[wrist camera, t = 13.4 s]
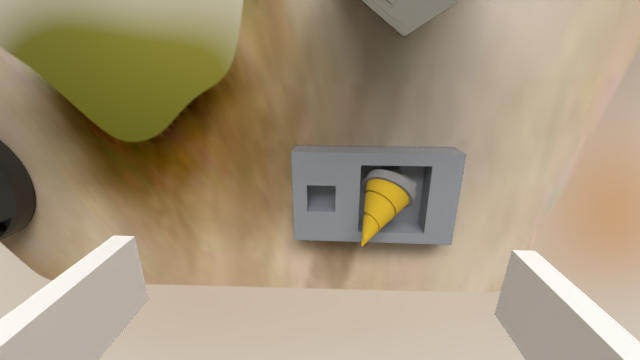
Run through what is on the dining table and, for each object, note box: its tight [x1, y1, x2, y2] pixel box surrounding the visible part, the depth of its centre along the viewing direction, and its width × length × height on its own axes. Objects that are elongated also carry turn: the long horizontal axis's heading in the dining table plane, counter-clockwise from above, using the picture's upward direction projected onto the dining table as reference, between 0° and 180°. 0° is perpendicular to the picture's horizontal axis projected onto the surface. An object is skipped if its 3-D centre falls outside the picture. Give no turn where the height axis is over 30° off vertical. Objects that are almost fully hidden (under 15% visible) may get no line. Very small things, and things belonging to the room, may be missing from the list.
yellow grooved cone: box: [361, 166, 417, 246], centre depth 30 cm, size 5×5×10 cm
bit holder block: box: [291, 146, 466, 245], centre depth 32 cm, size 17×10×3 cm, turn 90°
